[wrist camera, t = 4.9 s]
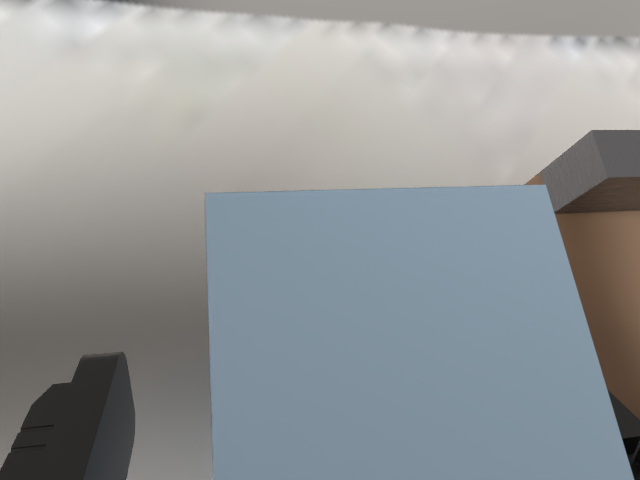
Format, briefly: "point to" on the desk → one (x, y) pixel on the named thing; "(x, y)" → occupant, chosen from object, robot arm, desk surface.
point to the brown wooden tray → (604, 246)
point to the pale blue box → (401, 339)
